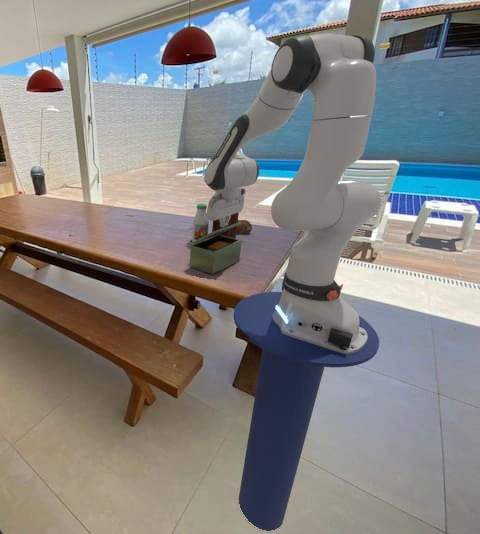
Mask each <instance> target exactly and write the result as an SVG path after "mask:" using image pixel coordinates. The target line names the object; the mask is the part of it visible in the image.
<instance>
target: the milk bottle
mask: <svg viewBox="0 0 480 534" xmlns="http://www.w3.org/2000/svg"><path fill="white" fill-rule="evenodd" d="M207 208H208V204H206V203H198V204H197V205H196V213H195V215H194V217H193V221H192V233H191V235H192V236H191V243H192V242H194V241H196V240H198V239H200V238H202V237H204V236H206V235H208V234H209V224H210V223H209V221H210V220H208V219H207V217H206V215H207ZM200 242H201V241H200Z"/></svg>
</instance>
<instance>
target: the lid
mask: <svg viewBox="0 0 480 534" xmlns="http://www.w3.org/2000/svg"><path fill="white" fill-rule="evenodd" d="M239 224H241V222H238V223H235V224H233V225H230V226H227V227H225V228H222V229H219V230H216V231H214V232H212V231H211V232H210V233H209V232H208V235H206V236H204V237H202V238H200V239H198V240H196V241H194V242H192V241H191V242H190V243H189V244H190V246H191V245H193V244H195V243H198V242H200V241H203V240H206V239H208V238H211V237H213V236H216V235H219V234H221V233H223V232H225V231H227V230H229V229H231V228H233V227H235V226H237V225H239Z"/></svg>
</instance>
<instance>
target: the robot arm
mask: <svg viewBox="0 0 480 534" xmlns="http://www.w3.org/2000/svg"><path fill="white" fill-rule="evenodd" d="M375 54H376V49H375V45H374V43H373V42H372V41H371V40H370V38H367V37H364V36H362V35H358V34H357V35H356V34H354V35H346V34H337V33H336V34H335V33H333V32H331V33H329V32H328V33H315V34H299V35H296V36H292V37H290V38H287V39H286V40H285V41H283V42H282V43H281V45H280V46H279V47H278V49H277V50H276V52H275V54H274V56H273V59H272V63H271V69H270V71H269V72H268V74H267V76H266V77H265V79H264V81H263V83H262V85H261V87H260V89H259V92H258V93H257V95H256V98H255V99H254V101H253V103H252V104H251V105H250V106H249V108H248V109H247V110H246V111H245V112H244V113H243V114H242V115H240V116H239V117H238V118H237V119H235V121H234V123H232V125H231V127H230V129H229V130H228V132H227V133H226V136H225V138H224V140H223V141H222V143H221V144H220V146H219V148H218V150H217V152H216V153H215V155H214V157H213V158H212V160H211V161H210V162H208V164H207V166H206V168H205V170H204V175H203V178H204V182H205V184H206V185H207V186H208V188H209V189H211V190H212V191H214V195H212V196H211V198H210V199H209V201H208V204H207V208H206V214H207V215H206V217H207V219H208V221H212V222H213V221H215V220H218V219H219V221H220V227H222V228H223V227H226V226H228V222H229V220H230V218H231V215H232V214H235V213H238V212H239V213H241V212H242V211H243V209H244V204H245V195H246V193H247V189H246V188H244V187H249V186H253V185H254V184H255V183H256V182H257V180H258V178H259V175H260V165H259V164H258V162H257V161H256V159H254V158H251V157H249V156H247V155H246V154H245V153H244V152H243V149H242V147H243V146H244V145H246V144H247V143H248V142H250V141H252V140H254V139H256V138H259V137H261V136H265V135H267V134H270V133H274V132H276V131H277V130H279V129H281V128H282V127H284V126H285V125H286V124H287V122H289V120H290V119H291V118H292V116H293V114H294V113H295V111H296V109H297V107H298V106H299V104H300V102H301V100H302V98H303V96H304V94H305V93H306V91H308V92H310V93H311V94H312V96H313V98H314V104H313V105H314V106H313V111H312V115H311V122H310V127H309V134H308V140H307V144H306V150H305V153H304V157H303V160H302V162H301V163H300V166H299V168H298V171H297V172H296V173H295V175H294V176H293V178H292V179H291V181H290V182H289V183H288V184H287V185H286V187H284V188H283V189H281V190H280V191H279V192H278V193H277V194H276V195H275V197H274V198H273V200H272V202H271V207H270V214H271V218H272V220H273V222H274V223H275V225H276V226H277V227H278V228H280V229H281V230H287V231H295V232H297V231H298V232H304V231H305V232H306V231H307V233H306V234H305V235H304V236H303V237H302V238H301V239H299V240H298V241H296V242H295V243H294V244H293V245H292V247H291V249H290V250H289V251H290V252H289V257H288V261H287V267H286V272H285V273H284V274H283V279H282V282H281V283H282V284H281V292H282V295H281V298H280V301H279V303H278V306H277V305H276V310H275V311H274V313H273V316H272V317H273V320H274V322H275V323H276V324H277V325H278V326H279V327H280V330H281V333H282V334H284V335H287V336H290V337H293V338H296V339H299V340H302V341H305V342H308V343H312V344H315V345H318V346H321V347H324V348H327V349H330V350H333V351H336V352H340V353H343V354H353V353H356V352H358V351H360V350H361V349H362V348H363V347H364V346H365V344H366V343H367V338H368V335H367V332H366V331H365V329H363V328H361V327H359V324H360V322H359V316H360V315H359V313H358V312H357V310H355V309H354V308H353V307H352V306H351V305H350V304H349V303H347V302H346V301H345V299H344V298H342V297H341V296H340V295H341V291H342V290H343V287H344V283H341V284H340V285H339V284H338V283H337V282H336V280H335V278H336V274H337V270H338V266H339V264H340V260H341V257H342V254H343V252H344V251H345V249H346V247H347V245H348V244H349V243H350V241H351V239H352V238H353V237H354V236H355V234H356V233H357V232H358V230H359V229H360V228H361V227H362V226H363V225H364V224H366V223H367V222H368V221H369V220H371V219H372V218H373V217H375V216H376V215H377V214H378V212H379V210H380V208H381V205H382V197H381V193H380V191H379V189H378V188H377V187H376V186H375V185H373V184H371V183H368V182H362V181H356V180H355V181H354V180H347V181H346V180H345V181H340V179H341V178H342V176H343V175H344V173H345V172H346V170H348V168H350V166H352V165H353V164H354V163H356V162H357V161H358V160H359V159H360V158H361V157H362V156H363V155H364V153H365V149H366V146H367V145H366V144H367V140H368V136H369V131H370V127H371V123H372V122H371V121H372V119H373V117H372V116H373V112H374V106H375V101H376V90H377V70H376V66H375V65H374V61H375V56H376V55H375Z"/></svg>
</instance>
